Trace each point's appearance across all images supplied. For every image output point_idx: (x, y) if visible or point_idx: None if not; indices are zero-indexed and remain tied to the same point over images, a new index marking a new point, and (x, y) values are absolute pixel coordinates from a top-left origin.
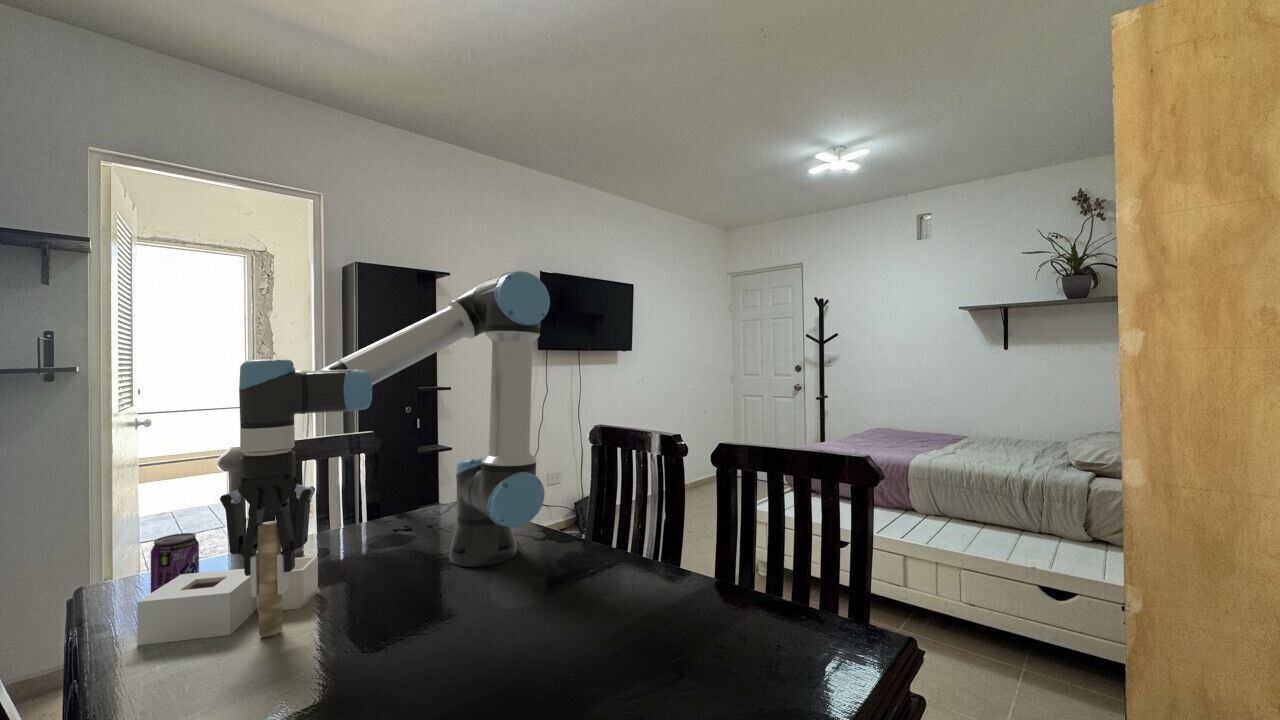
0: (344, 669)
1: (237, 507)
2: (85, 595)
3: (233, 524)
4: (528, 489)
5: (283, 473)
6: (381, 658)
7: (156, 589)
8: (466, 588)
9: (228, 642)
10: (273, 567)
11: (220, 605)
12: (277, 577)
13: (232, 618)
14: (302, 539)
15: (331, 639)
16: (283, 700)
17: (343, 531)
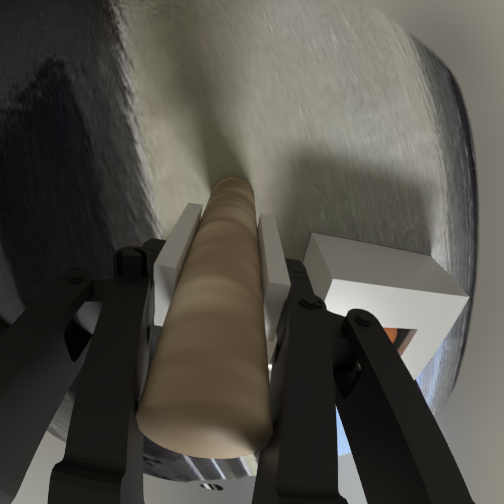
0: (85, 13)
1: None
2: (447, 399)
3: (412, 430)
4: None
5: None
6: (41, 40)
7: (416, 384)
8: None
9: (308, 198)
10: (201, 246)
11: (344, 265)
12: (192, 225)
13: (314, 254)
14: (47, 288)
15: (112, 127)
16: None
17: (220, 475)
